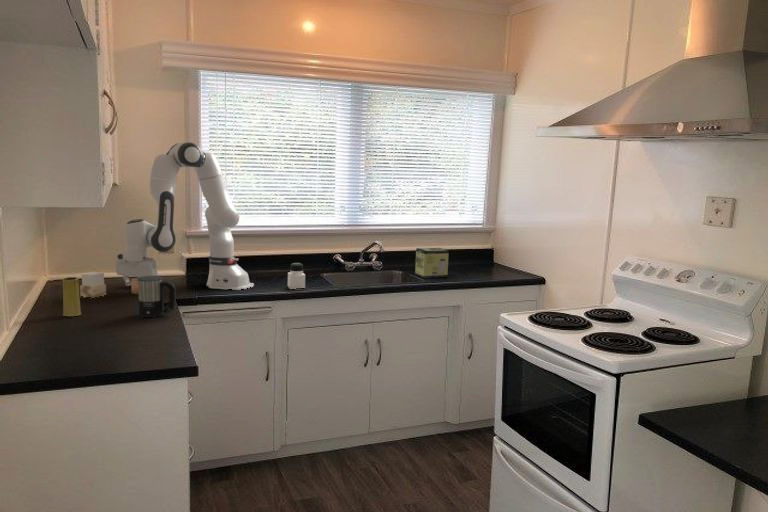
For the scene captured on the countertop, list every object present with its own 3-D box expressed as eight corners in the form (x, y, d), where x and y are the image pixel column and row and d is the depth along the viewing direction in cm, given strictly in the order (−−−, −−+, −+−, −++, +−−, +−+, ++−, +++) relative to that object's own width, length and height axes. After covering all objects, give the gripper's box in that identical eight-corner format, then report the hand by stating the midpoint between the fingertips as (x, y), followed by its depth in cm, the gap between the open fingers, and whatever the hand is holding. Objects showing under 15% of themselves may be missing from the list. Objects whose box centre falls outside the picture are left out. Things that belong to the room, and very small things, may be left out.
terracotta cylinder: (146, 292, 265) (145, 279, 264) (138, 294, 261) (137, 281, 260) (137, 291, 267) (136, 278, 266) (129, 293, 262) (128, 279, 261)
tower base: (106, 295, 256) (105, 284, 256) (93, 298, 250) (92, 287, 249) (93, 293, 259) (93, 282, 258) (80, 297, 252) (80, 285, 251)
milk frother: (138, 319, 222) (137, 280, 219) (136, 309, 236) (135, 272, 233) (178, 316, 228) (177, 278, 225) (173, 306, 242) (173, 271, 239)
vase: (64, 314, 224) (62, 277, 222) (82, 313, 226) (80, 276, 224) (61, 318, 218) (60, 280, 216) (80, 317, 221) (78, 279, 218)
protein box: (414, 275, 333) (415, 248, 330) (438, 274, 339) (440, 247, 336) (423, 278, 323) (424, 250, 321) (447, 277, 329) (449, 250, 327)
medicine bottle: (305, 289, 285) (305, 264, 283) (290, 289, 282) (291, 265, 280) (301, 286, 291) (302, 262, 290) (287, 286, 289) (287, 262, 287)
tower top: (104, 284, 255) (103, 273, 255) (92, 286, 250) (92, 275, 249) (93, 282, 258) (93, 271, 257) (82, 285, 252) (81, 273, 251)
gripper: (160, 257, 261) (160, 288, 263) (123, 253, 267) (124, 283, 269) (150, 259, 255) (150, 290, 257) (112, 254, 262) (113, 285, 264)
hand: (136, 286), depth 263 cm, fingers open, 8 cm apart
